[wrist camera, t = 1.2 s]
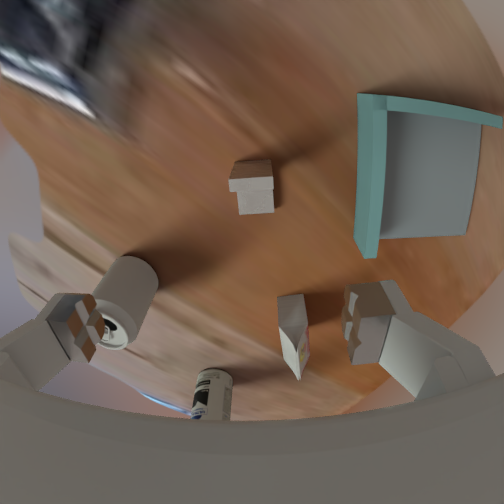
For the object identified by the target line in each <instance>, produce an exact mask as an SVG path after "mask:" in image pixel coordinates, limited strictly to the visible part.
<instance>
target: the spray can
mask: <svg viewBox="0 0 504 504" xmlns="http://www.w3.org/2000/svg"><path fill="white" fill-rule="evenodd" d="M232 387H233V380H232V377H231V376H230V375H229V374H228V373H227V372H225V371H223V370H219V369H205V370H204V371H202V372H200V373H199V375H198V378H197V384H196V390H195V395H194V401H193V406H192V413H191V418H190V419H199V420H223V421H230V413H231V400H232Z"/></svg>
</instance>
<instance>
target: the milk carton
mask: <svg viewBox="0 0 504 504" xmlns="http://www.w3.org/2000/svg"><path fill="white" fill-rule="evenodd" d="M277 303H278V322H279V331H280V337H281V344H282V350H283V357H284V360H285V361H286V363H287V364H288V365H289V367H290V368H291V369H292V370H293V372H294V374H295V375H296V377H297V379H298V380H299V378H300V380H301V377H302V374H303V371H304V368H305V366H306V364H307V362H308V360H309V357H310V348H309V332H308V320H307V314H306V308H305V302H304V295H303V294H297V295H290V296H282V297H277Z"/></svg>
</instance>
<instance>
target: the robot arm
mask: <svg viewBox="0 0 504 504" xmlns="http://www.w3.org/2000/svg"><path fill="white" fill-rule="evenodd" d="M344 299H345V302H346V305H345V306H344V307H343V308H342V331H343V335H344V338H345V339H346V340H348V347H347V350H348V353H349V357H350V361H351V364H352V365H357V364H367V363H375V362H379V364H380V365H381V366H382V367H383V368H384V369H385V370H386V371H388V372H389V373H390V374H391V375H392V376H393V377H394V378H395V379H396V380H397V381H398V382H400V383H401V384H402V385H403V386H404V387H405V388H406V389H407V390H408V391H409V392H410V393H411V394H412V395H413V396H415V397H416V398H415V400H414V402H409V403H405V404H400V405H395V406H391V407H386V408H380V409H375V410H369V411H363V412H356V413H349V414H342V415H334V416H325V417H315V418H303V419H288V420H265V421H223V420H199V419H184V418H173V417H164V416H155V415H146V414H140V413H132V412H126V411H120V410H114V409H109V408H104V407H99V406H94V405H90V404H85V403H80V402H76V401H72V400H68V399H64V398H60V397H56V396H53V395H49V394H46V393H43V392H39V390H40V389H41V388H42V387H43V386H45V385H46V384H47V383H48V382H49V381H50V380H51V379H52V378H53V377H54V376H55V375H57V374H58V373H59V372H60V371H61V370H62V369H63V368H64V367H66V366H67V365H68V364H69V363H70V361H75V362H84V363H89V362H90V360H91V358H92V356H93V355H94V353H95V351H96V346H95V344H97V343H98V342H100V341H101V340H102V338H103V336H104V331H105V323H104V319H103V317H102V314H101V313H99V312H98V311H97V310H96V306H97V303H96V301H95V299H94V297H93V296H92V295H90V294H80V293H57V294H55V295H54V296H53V297H52V298H51V300H50V301H49V302H48V303H47V304H46V306H45V307H44V308H43V309H42V311H41V312H40V313H39V315H38V316H37V317H36V318H35V319H31V320H30V321H28V322H27V323H25V324H23V325H21V326H20V327H18V328H16V329H15V330H13V331H11V332H10V333H8V334H6V335H5V336H3V337H2V338H0V504H504V373H503V374H500V375H498V376H495V374H494V372H493V370H492V369H491V367H490V365H489V364H488V362H487V360H486V358H485V356H484V355H483V353H482V351H481V350H480V348H479V347H478V346H477V345H475V344H473V343H472V342H470V341H468V340H466V339H465V338H463V337H461V336H460V335H458V334H456V333H454V332H453V331H451V330H449V329H447V328H446V327H444V326H442V325H441V324H439V323H437V322H435V321H434V320H432V319H430V318H428V317H427V316H425V315H423V314H421V313H419V312H413V310H412V308H411V307H410V305H409V303H408V302H407V300H406V298H405V297H404V295H403V293H402V292H401V290H400V288H399V287H398V285H397V284H396V282H395V281H394V280H386V281H378V282H372V283H362V284H351V285H346V286H345V290H344Z"/></svg>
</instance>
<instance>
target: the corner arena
mask: <svg viewBox="0 0 504 504" xmlns="http://www.w3.org/2000/svg"><path fill="white" fill-rule="evenodd" d="M357 106H358V164H357V191H356V209H355V224H354V236H353V238H354V240H355V242H356V244H357V246H358V248H359V250H360V251H361V253H362V255H363V257H364V259H367V258H376V256H377V249H378V242H379V239H390V238H411V237H432V236H454V235H465V234H466V229H467V225H468V220H469V216H470V211H471V206H472V200H473V195H474V189H475V182H476V175H477V168H478V160H479V150H480V138H481V124H483V125H488V126H492V127H496V128H501V129H502V124H503V117H501V116H498V115H494V114H490V113H486V112H482V111H478V110H474V109H470V108H465V107H460V106H455V105H450V104H445V103H439V102H433V101H427V100H420V99H413V98H405V97H397V96H387V95H376V94H362V93H357Z"/></svg>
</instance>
